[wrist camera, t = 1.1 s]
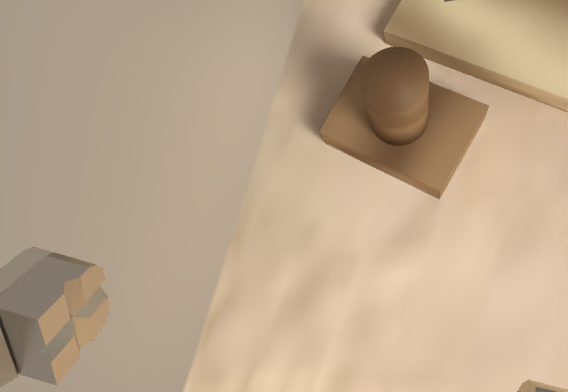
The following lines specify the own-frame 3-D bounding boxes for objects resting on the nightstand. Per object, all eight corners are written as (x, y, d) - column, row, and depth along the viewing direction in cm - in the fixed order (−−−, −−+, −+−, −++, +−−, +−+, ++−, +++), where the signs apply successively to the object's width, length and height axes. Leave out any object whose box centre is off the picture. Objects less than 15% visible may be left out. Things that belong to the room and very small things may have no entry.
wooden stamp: (326, 144, 30) (294, 95, 23) (367, 73, 31) (348, 2, 23) (439, 199, 28) (444, 164, 20) (483, 121, 28) (505, 57, 20)
